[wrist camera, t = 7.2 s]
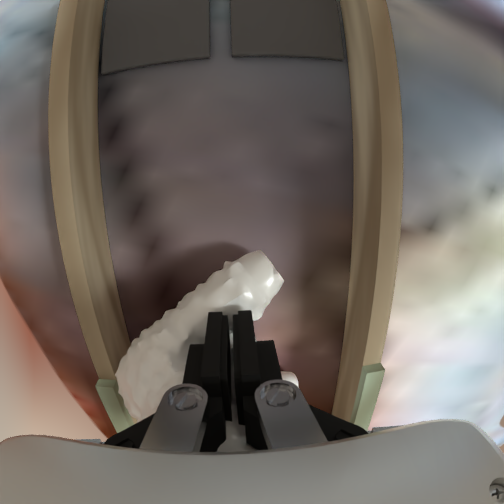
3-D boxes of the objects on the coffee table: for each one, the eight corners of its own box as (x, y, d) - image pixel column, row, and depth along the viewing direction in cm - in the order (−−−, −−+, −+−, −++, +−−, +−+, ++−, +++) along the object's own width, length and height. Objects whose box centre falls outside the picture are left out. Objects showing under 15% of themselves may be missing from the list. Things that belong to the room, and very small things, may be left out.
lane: (351, -27, 10) (379, -63, 6) (340, 430, 19) (355, 470, 15) (91, -12, 10) (60, -44, 6) (151, 441, 18) (142, 483, 15)
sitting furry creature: (292, 385, 17) (392, 547, 6) (158, 423, 16) (189, 607, 5) (267, 240, 14) (488, 450, 3) (87, 291, 12) (12, 563, 1)
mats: (329, -25, 10) (331, -28, 10) (341, 60, 12) (344, 59, 12) (111, -13, 10) (110, -15, 9) (103, 75, 11) (101, 73, 11)
